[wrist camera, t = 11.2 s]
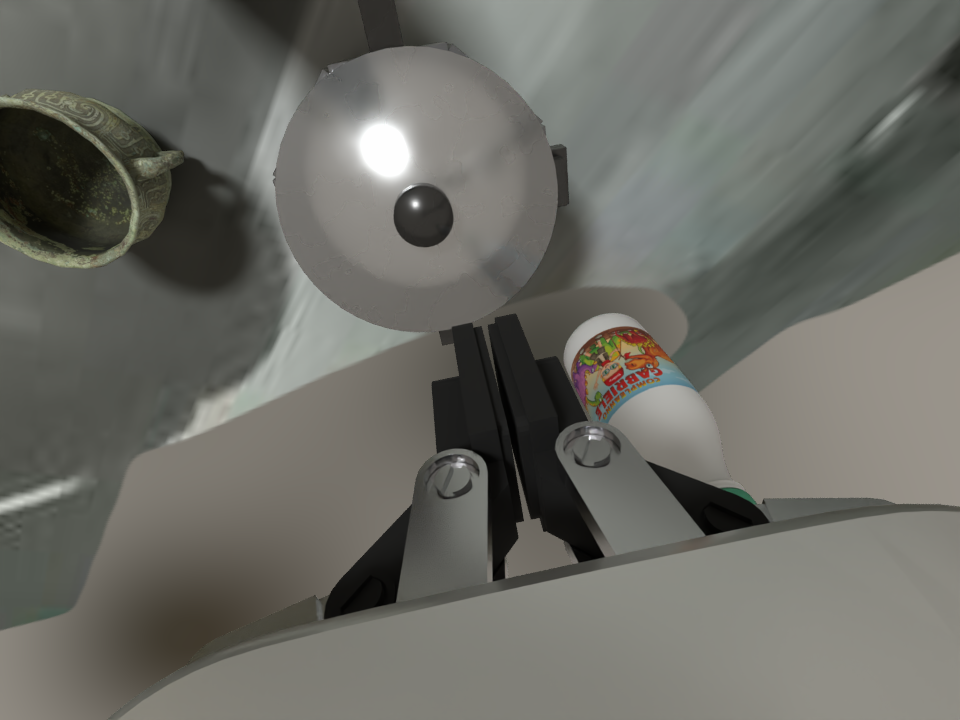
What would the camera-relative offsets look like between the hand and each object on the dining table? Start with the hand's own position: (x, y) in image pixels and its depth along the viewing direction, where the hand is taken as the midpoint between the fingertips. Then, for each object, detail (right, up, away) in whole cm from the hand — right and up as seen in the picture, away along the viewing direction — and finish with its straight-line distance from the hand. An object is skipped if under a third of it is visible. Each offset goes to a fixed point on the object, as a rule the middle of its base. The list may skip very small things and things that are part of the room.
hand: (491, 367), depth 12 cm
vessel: (-24, +13, +17) cm, 32 cm away
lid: (-3, +8, +13) cm, 16 cm away
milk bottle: (+11, +1, +31) cm, 33 cm away
